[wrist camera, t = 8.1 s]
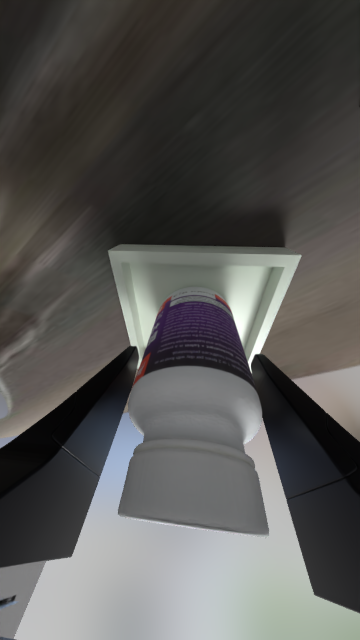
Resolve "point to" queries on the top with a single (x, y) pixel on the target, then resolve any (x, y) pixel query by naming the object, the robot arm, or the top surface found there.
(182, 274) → the tray
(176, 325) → the pill bottle
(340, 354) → the top surface
